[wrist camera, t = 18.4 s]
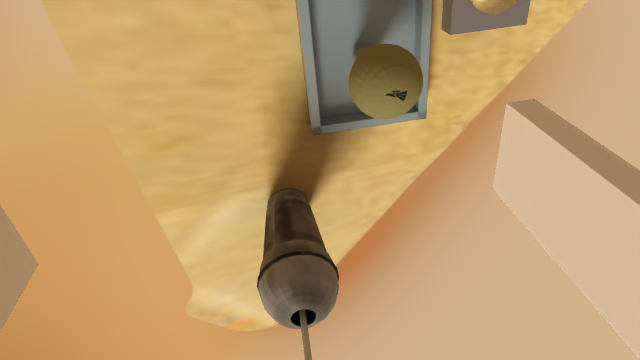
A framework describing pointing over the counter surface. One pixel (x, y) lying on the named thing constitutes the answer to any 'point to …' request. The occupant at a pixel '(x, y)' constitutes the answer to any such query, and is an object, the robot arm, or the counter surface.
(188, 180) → the counter surface
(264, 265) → the beverage cup
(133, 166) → the counter surface
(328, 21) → the tray
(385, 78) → the light bulb
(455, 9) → the tester
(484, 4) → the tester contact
